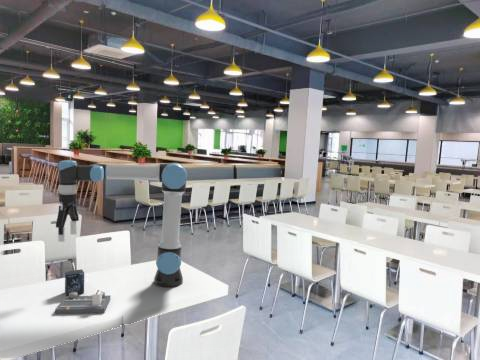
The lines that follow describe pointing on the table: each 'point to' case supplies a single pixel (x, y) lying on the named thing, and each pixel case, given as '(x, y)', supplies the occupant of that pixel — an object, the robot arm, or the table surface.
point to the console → (81, 304)
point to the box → (74, 282)
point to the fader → (97, 297)
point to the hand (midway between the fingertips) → (67, 237)
